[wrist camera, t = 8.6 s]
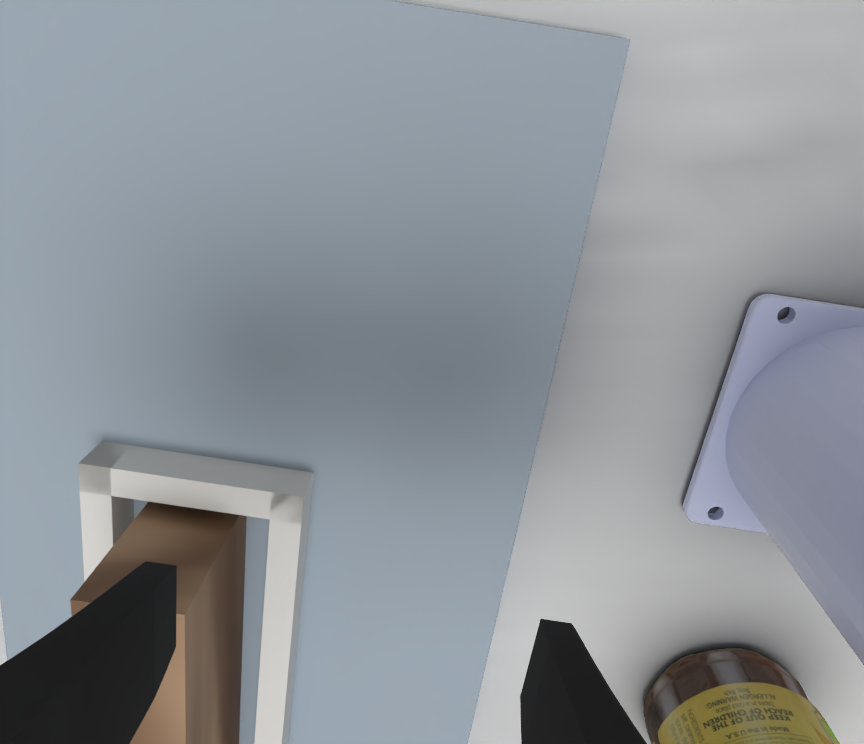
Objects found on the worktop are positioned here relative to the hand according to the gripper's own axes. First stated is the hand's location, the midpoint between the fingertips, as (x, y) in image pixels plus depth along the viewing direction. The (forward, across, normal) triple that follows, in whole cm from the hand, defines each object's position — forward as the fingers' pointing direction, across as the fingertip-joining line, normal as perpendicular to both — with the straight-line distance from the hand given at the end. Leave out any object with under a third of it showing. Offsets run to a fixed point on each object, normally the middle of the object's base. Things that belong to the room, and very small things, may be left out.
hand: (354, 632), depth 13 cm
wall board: (+10, +4, +3) cm, 11 cm away
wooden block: (+9, +6, +10) cm, 14 cm away
